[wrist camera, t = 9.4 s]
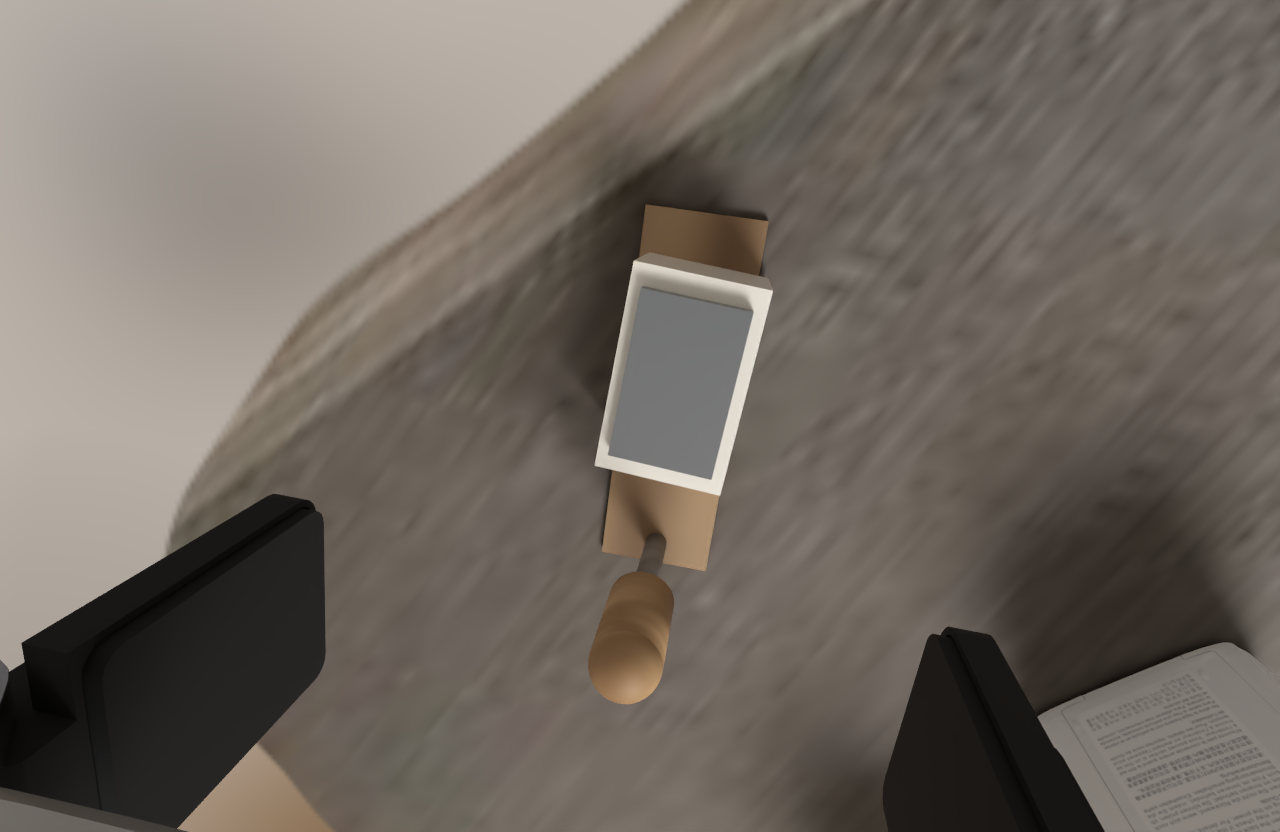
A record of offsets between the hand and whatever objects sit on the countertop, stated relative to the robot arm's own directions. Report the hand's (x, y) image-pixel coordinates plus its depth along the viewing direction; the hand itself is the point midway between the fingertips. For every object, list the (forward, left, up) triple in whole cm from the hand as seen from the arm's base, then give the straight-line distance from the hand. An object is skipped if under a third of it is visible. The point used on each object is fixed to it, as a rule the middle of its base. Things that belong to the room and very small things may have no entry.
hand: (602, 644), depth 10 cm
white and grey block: (0, 0, -20) cm, 20 cm away
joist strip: (0, +2, -21) cm, 21 cm away
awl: (0, +9, -20) cm, 22 cm away
